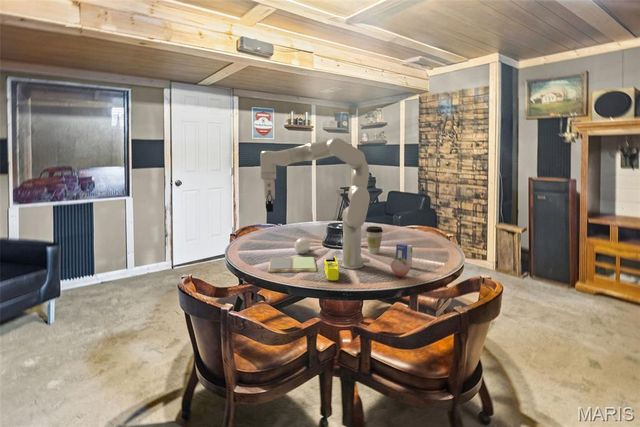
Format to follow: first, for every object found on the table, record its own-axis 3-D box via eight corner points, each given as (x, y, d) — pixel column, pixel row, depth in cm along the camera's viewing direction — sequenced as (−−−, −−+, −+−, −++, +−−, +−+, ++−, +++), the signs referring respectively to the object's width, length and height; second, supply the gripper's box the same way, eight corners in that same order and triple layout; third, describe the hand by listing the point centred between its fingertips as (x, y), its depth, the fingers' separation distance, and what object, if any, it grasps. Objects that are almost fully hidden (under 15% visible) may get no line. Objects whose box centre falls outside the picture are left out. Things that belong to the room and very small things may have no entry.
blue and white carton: (395, 266, 206) (396, 243, 204) (397, 264, 208) (398, 242, 206) (410, 268, 202) (411, 245, 200) (411, 267, 204) (412, 244, 202)
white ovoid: (299, 258, 224) (302, 254, 239) (313, 248, 223) (315, 245, 238) (289, 245, 224) (293, 242, 239) (303, 235, 223) (306, 232, 238)
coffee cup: (363, 250, 236) (364, 226, 234) (379, 250, 238) (380, 225, 235) (367, 255, 227) (368, 229, 224) (384, 254, 228) (384, 229, 225)
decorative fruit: (413, 277, 188) (414, 257, 186) (401, 281, 183) (402, 260, 181) (399, 272, 195) (400, 253, 194) (387, 275, 191) (388, 255, 189)
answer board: (314, 259, 218) (314, 256, 218) (316, 271, 196) (316, 268, 196) (270, 259, 216) (270, 257, 216) (268, 272, 195) (268, 269, 194)
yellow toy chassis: (339, 281, 183) (339, 264, 181) (327, 281, 182) (327, 264, 181) (334, 270, 198) (335, 254, 197) (323, 271, 198) (323, 255, 196)
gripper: (277, 177, 187) (278, 212, 189) (275, 174, 203) (275, 207, 206) (261, 177, 185) (262, 213, 188) (260, 174, 202) (261, 207, 205)
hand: (269, 210), depth 197 cm, fingers open, 9 cm apart
